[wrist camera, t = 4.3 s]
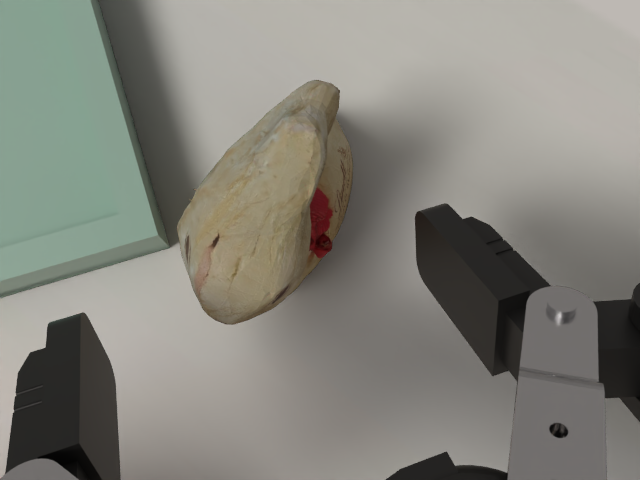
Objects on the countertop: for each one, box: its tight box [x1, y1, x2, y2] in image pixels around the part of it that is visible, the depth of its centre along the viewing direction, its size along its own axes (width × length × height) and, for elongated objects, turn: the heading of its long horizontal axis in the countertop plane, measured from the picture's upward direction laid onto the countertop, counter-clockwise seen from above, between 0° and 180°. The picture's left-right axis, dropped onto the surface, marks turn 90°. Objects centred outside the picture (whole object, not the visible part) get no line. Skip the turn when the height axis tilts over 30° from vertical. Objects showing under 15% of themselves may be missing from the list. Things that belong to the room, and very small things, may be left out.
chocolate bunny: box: [177, 80, 353, 325], centre depth 17 cm, size 6×8×10 cm
